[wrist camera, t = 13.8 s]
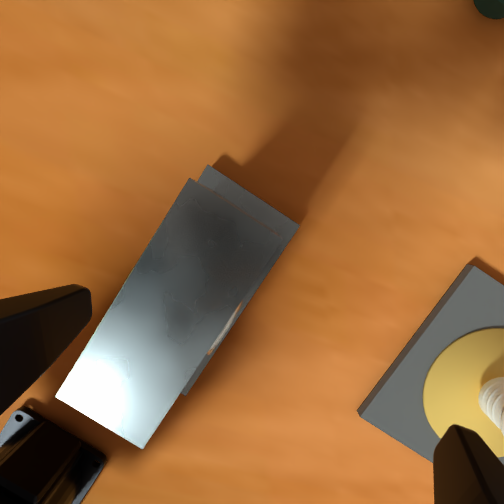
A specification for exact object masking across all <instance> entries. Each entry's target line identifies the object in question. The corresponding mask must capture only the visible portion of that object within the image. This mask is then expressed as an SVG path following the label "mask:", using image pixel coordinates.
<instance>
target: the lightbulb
mask: <svg viewBox="0 0 504 504" xmlns="http://www.w3.org/2000/svg"><path fill="white" fill-rule="evenodd" d="M478 399H479V406H480V408H481V410H482V411H483V412H484V413H485V414H486V415H487V416H488V417H489V418H490V420H491V421H492V422H493V423H495V425H496V426H497V427H498V428H499V429H501V432H502V434H503V436H504V377H498V378H494V379H491V380H489V381H488V382H486V383H485V384H484V385H483V386H482V388H481V390H480V392H479V397H478Z"/></svg>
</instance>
